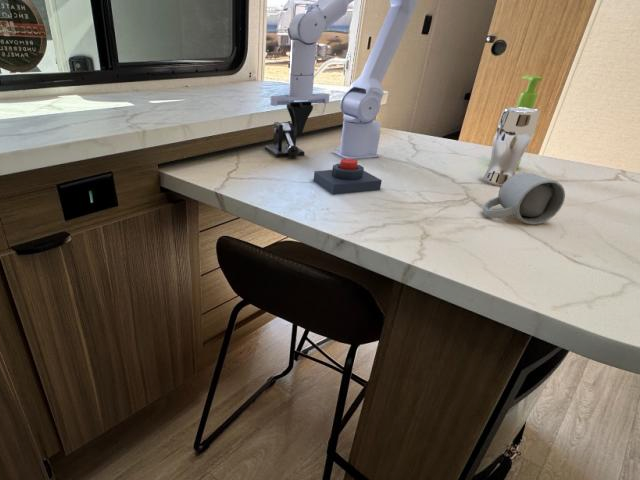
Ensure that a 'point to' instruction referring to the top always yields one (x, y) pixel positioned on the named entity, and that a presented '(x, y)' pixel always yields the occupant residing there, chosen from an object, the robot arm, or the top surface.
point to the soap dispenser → (529, 94)
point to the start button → (348, 164)
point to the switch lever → (289, 141)
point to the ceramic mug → (527, 199)
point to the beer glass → (510, 142)
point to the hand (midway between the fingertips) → (297, 135)
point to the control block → (346, 180)
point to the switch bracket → (278, 147)
